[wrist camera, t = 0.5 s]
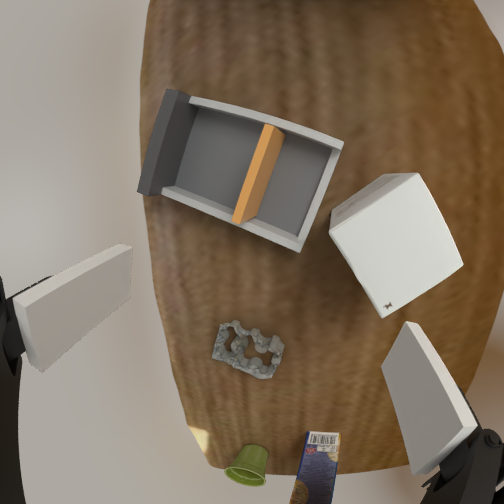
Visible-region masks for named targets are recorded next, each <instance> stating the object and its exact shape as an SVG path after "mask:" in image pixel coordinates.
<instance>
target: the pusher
mask: <svg viewBox="0 0 504 504" xmlns="http://www.w3.org/2000/svg"><path fill="white" fill-rule="evenodd" d="M285 136H286V135H285V134H284V133H282V132H281V131H280V130H278V129H277V128H276V127H275V126H272V125H269V124H266V123H265V125H264V128H263V131H262V133H261V136H260V139H259V142H258V144H257V147H256V150H255V153H254V156H253V159H252V161H251V164H250V167H249V170H248V173H247V176H246V179H245V181H244V184H243V187H242V190H241V193H240V196H239V199H238V202H237V205H236V208H235V211H234V214H233V217H232V220H231V221H232V222H234V223H237V224H239V225H240V224H241V223H243V222H245V221H247V220H249V219H251V218H253V217H255V216H256V215H257V213H258V210H259V207H260V204H261V202H262V199H263V196H264V193H265V191H266V188H267V185H268V182H269V180H270V177H271V174H272V171H273V169H274V166H275V163H276V161H277V158H278V155H279V152H280V150H281V147H282V144H283V141H284V139H285Z"/></svg>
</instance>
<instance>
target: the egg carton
mask: <svg viewBox="0 0 504 504" xmlns="http://www.w3.org/2000/svg"><path fill="white" fill-rule="evenodd" d="M229 326H230V327H233V328H234V330H235V332H236V334H237V336H236V337H235V339H234V340H233V342H232V343H231V346H230V347H231V349H232V352H229V351H227V350H226V347H225V345H224V344H225V342H226V340H227V339H228V337H229V336H230V333H229V331H228V330H227V328H228V327H229ZM249 335H251V336H252V337H253V341H254V343H256V344H255V350H256V351H257V352H259V353H266V352H267V351H268V350H269V351H270V352H272V353H274V354H273V357H272V359H271V362H272V364H271V365H269V366H265V365H263V361H262V360H261V359H260V358H258V357H252V358H251V359H246V358H244V354H243V352H244V351H245V349H246V347H247V345H248V343H249V340H248V338H247V337H246V336H249ZM284 346H285V345H284V344H283V343H281V341H280V337H278V336H275V335H273V336H272V337H271V338H265V337H263V336H262V335H261V334H260V330H259V329H255V328H253V329H252V330H249V331H248V330H244V329H243V328H242V327H241V326H240V322H239V321H236V320H233V321H232V322H231V323H225V324H224V325H222V324H221V325H220V329H219V332H218V335H217V339H216V342H215V346H214V350H213V353H212V358H213V359H216V360H219V361H222V362H226V363H227V364H228V365H229V364H231V365H232V366H233V368H236V369H240V370H242V371H244V372H247V373H249V374H251V375H253V376H254V377H256V378H259V379H267V378H271V377H272V376H273V374H274V372H275V371H276V368H277V366H278V365H279V363H280V361H281V360H282V358H281V356H282V354H283V349H284Z"/></svg>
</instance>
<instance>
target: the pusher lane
mask: <svg viewBox="0 0 504 504" xmlns="http://www.w3.org/2000/svg"><path fill="white" fill-rule="evenodd" d="M265 123H266V124H269V125H272V126H275V127H276V128H277V129H278V130H280V131H281V132H282V133H284V134H285V135H286V136H285V139H284V141H283V144H282V147H281V150H280V152H279V155H278V158H277V161H276V163H275V166H274V169H273V171H272V174H271V177H270V180H269V182H268V185H267V188H266V191H265V193H264V196H263V199H262V202H261V204H260V207H259V210H258V213H257V215H256V216H255V217H253V218H251V219H249V220H247V221H245V222H243V223H241V224H240V225H239V224H237V223H234V222H232V221H231V220H232V217H233V214H234V211H235V208H236V205H237V202H238V199H239V196H240V193H241V190H242V187H243V184H244V181H245V179H246V176H247V173H248V170H249V167H250V164H251V161H252V159H253V156H254V153H255V150H256V147H257V144H258V142H259V139H260V136H261V133H262V131H263V128H264V125H265ZM343 144H344V142H343V141H341V140H338V139H336V138H333V137H331V136H328V135H326V134H323V133H320V132H318V131H315V130H312V129H310V128H307V127H304V126H301V125H298V124H295V123H292V122H289V121H286V120H283V119H280V118H277V117H274V116H270V115H267V114H264V113H260V112H257V111H253V110H250V109H246V108H242V107H238V106H234V105H230V104H226V103H222V102H218V101H213V100H209V99H204V98H199V97H194V96H190V95H188V94H186V93H183V92H181V91H178V90H172V89H166V92H165V95H164V98H163V101H162V104H161V107H160V110H159V113H158V116H157V119H156V122H155V125H154V128H153V132H152V135H151V139H150V142H149V146H148V149H147V153H146V157H145V160H144V164H143V168H142V172H141V177H140V181H139V185H138V190H137V192H138V193H141V194H143V195H146V196H154V195H160V194H162V195H164V196H167V197H169V198H171V199H174V200H176V201H179V202H181V203H184V204H186V205H188V206H191V207H193V208H196V209H198V210H200V211H203V212H205V213H208V214H210V215H212V216H215V217H217V218H219V219H222V220H224V221H226V222H229V223H231V224H234V225H236V226H238V227H241V228H243V229H245V230H248V231H250V232H252V233H255V234H257V235H259V236H262V237H264V238H266V239H268V240H271V241H273V242H275V243H278V244H280V245H282V246H285V247H287V248H289V249H291V250H294V251H296V252H298V253H300V251H301V249H302V247H303V245H304V242H305V240H306V238H307V235H308V233H309V231H310V228H311V226H312V223H313V221H314V219H315V216H316V214H317V211H318V209H319V206H320V204H321V201H322V199H323V196H324V194H325V191H326V189H327V186H328V184H329V181H330V179H331V176H332V174H333V171H334V168H335V166H336V163H337V161H338V158H339V155H340V153H341V150H342V147H343Z"/></svg>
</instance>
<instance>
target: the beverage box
mask: <svg viewBox="0 0 504 504" xmlns="http://www.w3.org/2000/svg"><path fill="white" fill-rule="evenodd" d="M340 437H341V433H328V432H312V431H307V436H306V440H305V445H304V449H303V454H302V458H301V462H300V466H299V470H298V474H297V478H296V482H295V485H294V489H293V493H292V496H291V499H290V503H289V504H331V502H332V497H333V491H334V485H335V478H336V471H337V464H338V456H339V447H340Z"/></svg>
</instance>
